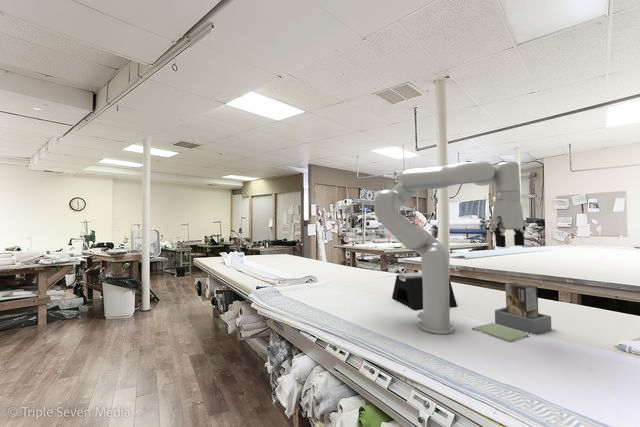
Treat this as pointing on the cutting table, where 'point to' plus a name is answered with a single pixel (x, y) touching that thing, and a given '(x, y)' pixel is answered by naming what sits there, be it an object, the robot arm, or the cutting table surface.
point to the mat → (501, 332)
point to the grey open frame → (523, 322)
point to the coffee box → (522, 300)
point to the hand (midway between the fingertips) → (510, 246)
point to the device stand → (414, 291)
